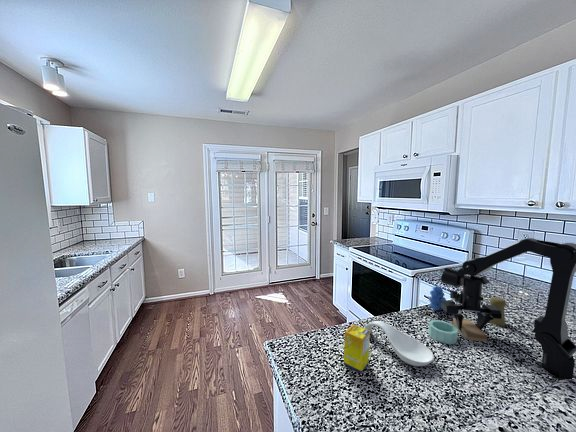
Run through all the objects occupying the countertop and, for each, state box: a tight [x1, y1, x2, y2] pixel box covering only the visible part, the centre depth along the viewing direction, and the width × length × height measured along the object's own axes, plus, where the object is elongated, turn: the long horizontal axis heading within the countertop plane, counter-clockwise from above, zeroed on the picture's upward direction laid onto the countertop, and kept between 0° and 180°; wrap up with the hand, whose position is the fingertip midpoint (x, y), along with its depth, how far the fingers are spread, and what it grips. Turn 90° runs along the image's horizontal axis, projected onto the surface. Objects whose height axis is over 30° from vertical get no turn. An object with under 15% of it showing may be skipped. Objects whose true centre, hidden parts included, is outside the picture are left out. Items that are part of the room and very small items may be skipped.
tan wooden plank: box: [452, 317, 488, 343], centre depth 94 cm, size 12×6×2 cm, turn 169°
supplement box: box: [343, 324, 371, 374], centre depth 75 cm, size 6×6×11 cm
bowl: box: [427, 319, 459, 345], centre depth 91 cm, size 9×9×4 cm
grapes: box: [428, 285, 448, 312], centre depth 112 cm, size 12×7×12 cm, turn 125°
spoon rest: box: [363, 320, 435, 367], centre depth 83 cm, size 24×12×7 cm, turn 37°
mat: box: [450, 322, 490, 343], centre depth 95 cm, size 12×8×1 cm, turn 169°
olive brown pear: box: [488, 296, 507, 327], centre depth 102 cm, size 6×6×11 cm
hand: (468, 330), depth 94 cm, fingers closed on tan wooden plank, 6 cm apart
